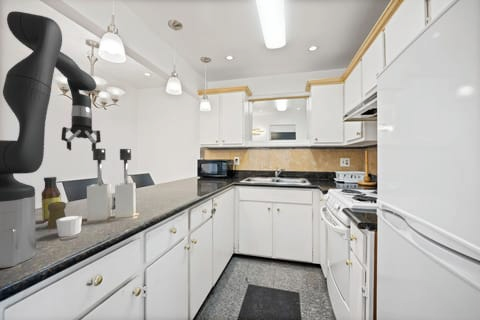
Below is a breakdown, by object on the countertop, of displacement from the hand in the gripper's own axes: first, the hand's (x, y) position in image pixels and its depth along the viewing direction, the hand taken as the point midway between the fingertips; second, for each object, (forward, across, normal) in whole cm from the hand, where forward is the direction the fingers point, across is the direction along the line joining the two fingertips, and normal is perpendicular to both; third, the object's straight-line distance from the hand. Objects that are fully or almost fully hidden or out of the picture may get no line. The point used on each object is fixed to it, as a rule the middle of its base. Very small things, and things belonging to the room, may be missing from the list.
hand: (81, 150), depth 90 cm
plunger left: (+20, +4, -15) cm, 25 cm away
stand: (+32, +9, -17) cm, 37 cm away
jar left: (+31, +4, -15) cm, 34 cm away
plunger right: (+20, +13, -19) cm, 31 cm away
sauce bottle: (+32, -10, +5) cm, 34 cm away
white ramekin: (+33, -7, -26) cm, 42 cm away
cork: (+33, -9, -12) cm, 36 cm away
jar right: (+31, +13, -19) cm, 38 cm away
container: (+32, +18, +3) cm, 37 cm away
